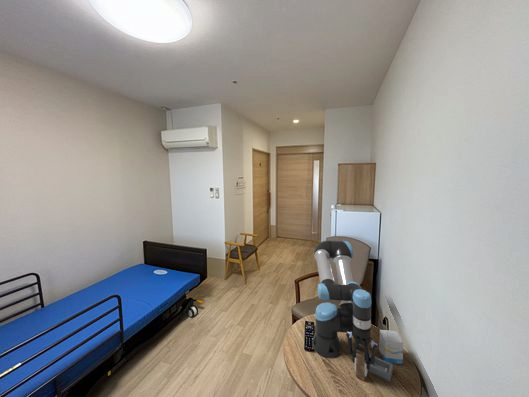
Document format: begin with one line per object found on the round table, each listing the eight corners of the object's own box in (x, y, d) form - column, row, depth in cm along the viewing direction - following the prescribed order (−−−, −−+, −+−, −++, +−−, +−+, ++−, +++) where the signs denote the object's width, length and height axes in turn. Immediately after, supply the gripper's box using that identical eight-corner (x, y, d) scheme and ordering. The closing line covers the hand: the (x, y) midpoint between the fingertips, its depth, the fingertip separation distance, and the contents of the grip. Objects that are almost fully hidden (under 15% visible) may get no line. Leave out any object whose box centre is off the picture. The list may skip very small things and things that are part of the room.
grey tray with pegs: (365, 370, 102) (365, 363, 102) (368, 360, 108) (368, 353, 108) (390, 382, 96) (390, 375, 95) (392, 371, 101) (392, 364, 101)
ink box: (403, 364, 105) (403, 342, 104) (384, 362, 106) (384, 340, 105) (396, 351, 113) (396, 330, 112) (378, 349, 115) (379, 328, 114)
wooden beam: (355, 376, 99) (356, 350, 98) (358, 370, 102) (358, 345, 100) (364, 380, 97) (364, 354, 95) (365, 374, 99) (366, 349, 98)
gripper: (340, 322, 99) (340, 368, 101) (380, 337, 89) (379, 388, 91) (345, 313, 105) (345, 357, 107) (383, 327, 95) (382, 375, 97)
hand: (361, 371), depth 99 cm, fingers closed on wooden beam, 3 cm apart
